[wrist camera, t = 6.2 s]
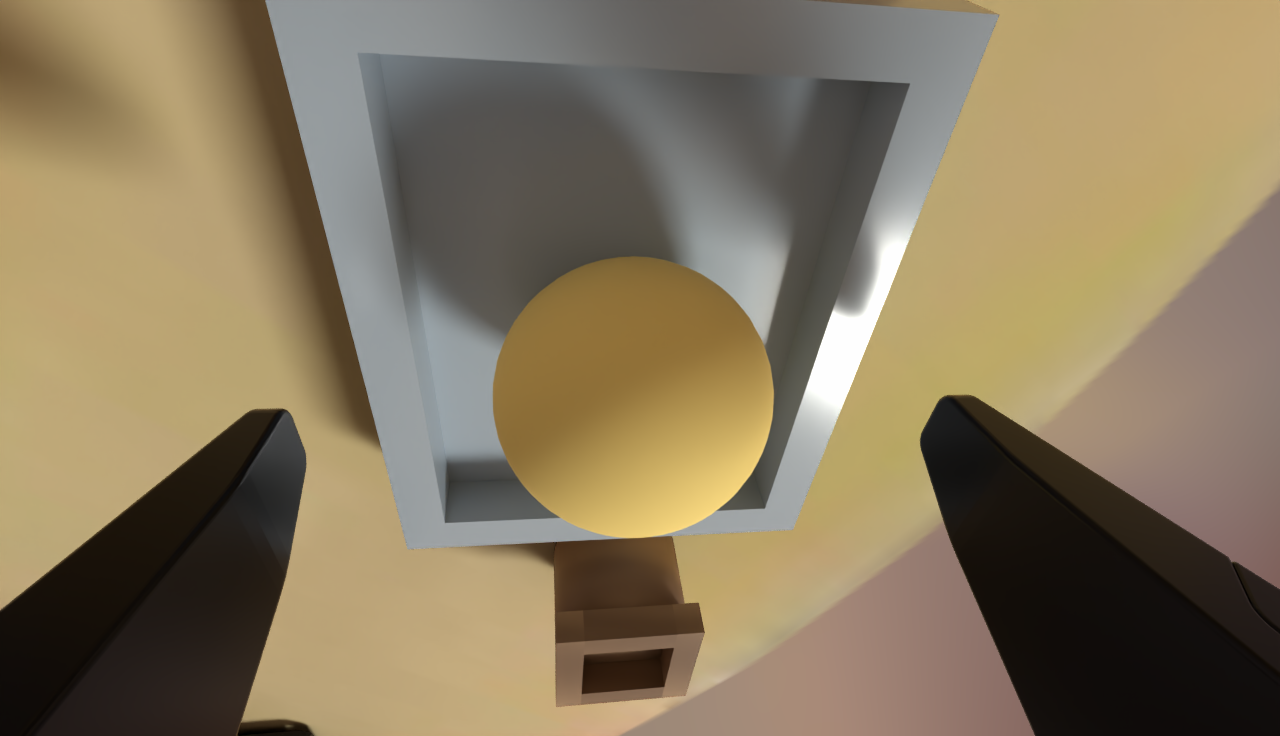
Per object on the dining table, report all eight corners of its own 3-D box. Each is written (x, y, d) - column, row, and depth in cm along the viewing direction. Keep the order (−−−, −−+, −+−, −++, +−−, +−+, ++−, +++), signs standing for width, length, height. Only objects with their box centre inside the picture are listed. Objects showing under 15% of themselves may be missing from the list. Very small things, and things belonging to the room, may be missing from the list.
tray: (767, 459, 15) (792, 529, 14) (421, 471, 14) (407, 549, 13) (921, -20, 9) (998, 15, 7) (309, -69, 8) (254, -42, 6)
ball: (715, 399, 12) (773, 585, 9) (505, 404, 12) (495, 605, 9) (757, 208, 10) (855, 382, 7) (490, 202, 9) (469, 389, 6)
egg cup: (666, 580, 18) (685, 695, 16) (553, 586, 18) (556, 707, 16) (680, 511, 16) (704, 632, 14) (553, 517, 16) (556, 643, 13)
